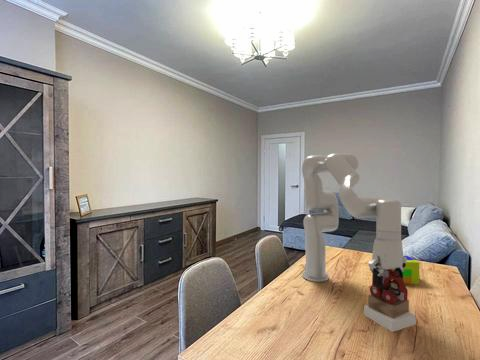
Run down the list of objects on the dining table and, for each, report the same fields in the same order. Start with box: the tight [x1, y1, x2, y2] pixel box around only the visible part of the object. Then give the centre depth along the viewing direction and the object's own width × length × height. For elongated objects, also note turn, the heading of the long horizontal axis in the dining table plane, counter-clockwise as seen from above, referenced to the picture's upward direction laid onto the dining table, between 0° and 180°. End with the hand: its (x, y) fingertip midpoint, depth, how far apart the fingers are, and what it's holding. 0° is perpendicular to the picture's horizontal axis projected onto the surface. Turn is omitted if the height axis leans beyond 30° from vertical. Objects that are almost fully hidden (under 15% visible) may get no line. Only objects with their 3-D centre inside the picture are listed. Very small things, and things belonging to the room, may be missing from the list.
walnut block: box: [367, 293, 410, 319], centre depth 92 cm, size 9×9×4 cm
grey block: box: [363, 304, 417, 333], centre depth 91 cm, size 11×11×4 cm
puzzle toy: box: [391, 255, 420, 285], centre depth 127 cm, size 10×10×10 cm
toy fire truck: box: [369, 266, 409, 304], centre depth 91 cm, size 7×12×10 cm, turn 26°
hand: (388, 284), depth 92 cm, fingers open, 9 cm apart
